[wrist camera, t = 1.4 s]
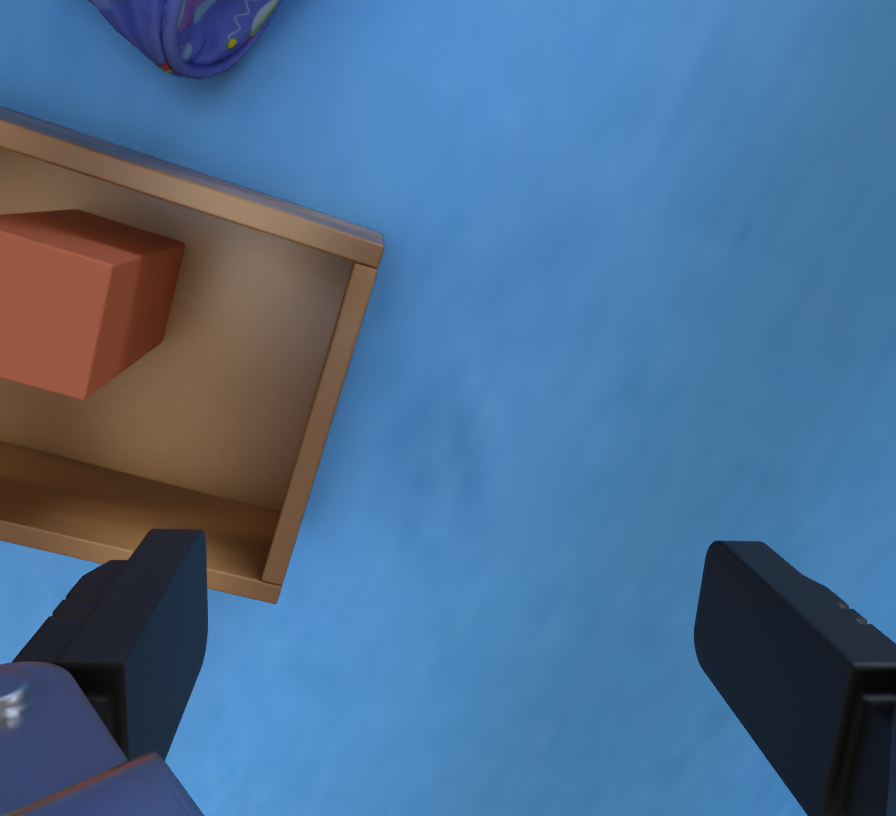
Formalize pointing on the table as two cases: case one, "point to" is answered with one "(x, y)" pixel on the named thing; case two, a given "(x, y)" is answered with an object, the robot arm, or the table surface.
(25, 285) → the block
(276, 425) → the chest
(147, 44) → the pencil case
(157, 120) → the table surface
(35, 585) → the table surface
